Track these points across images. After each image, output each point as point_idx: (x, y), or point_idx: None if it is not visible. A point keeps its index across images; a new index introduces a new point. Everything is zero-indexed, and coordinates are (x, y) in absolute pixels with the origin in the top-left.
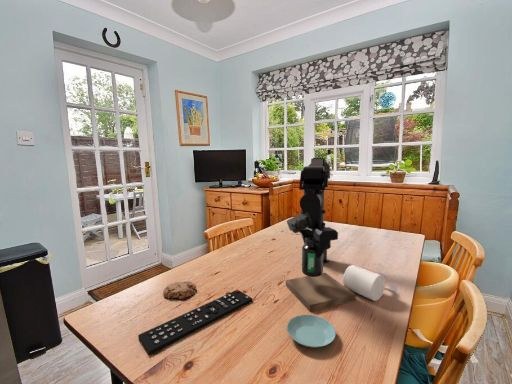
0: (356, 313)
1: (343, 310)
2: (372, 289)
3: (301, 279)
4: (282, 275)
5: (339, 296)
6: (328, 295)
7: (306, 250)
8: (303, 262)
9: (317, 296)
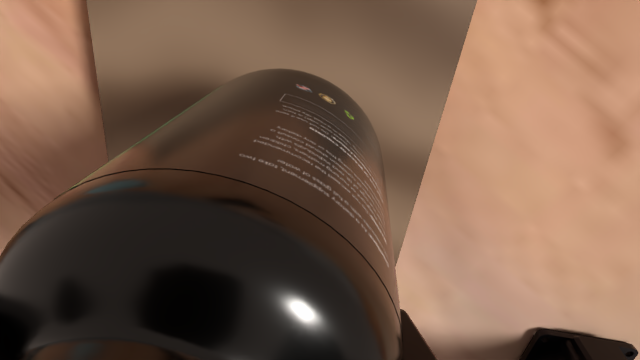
0: (40, 151)
1: (74, 117)
2: None
3: (409, 109)
4: (614, 61)
5: None
6: (150, 121)
7: (84, 204)
8: (260, 96)
9: (161, 51)
